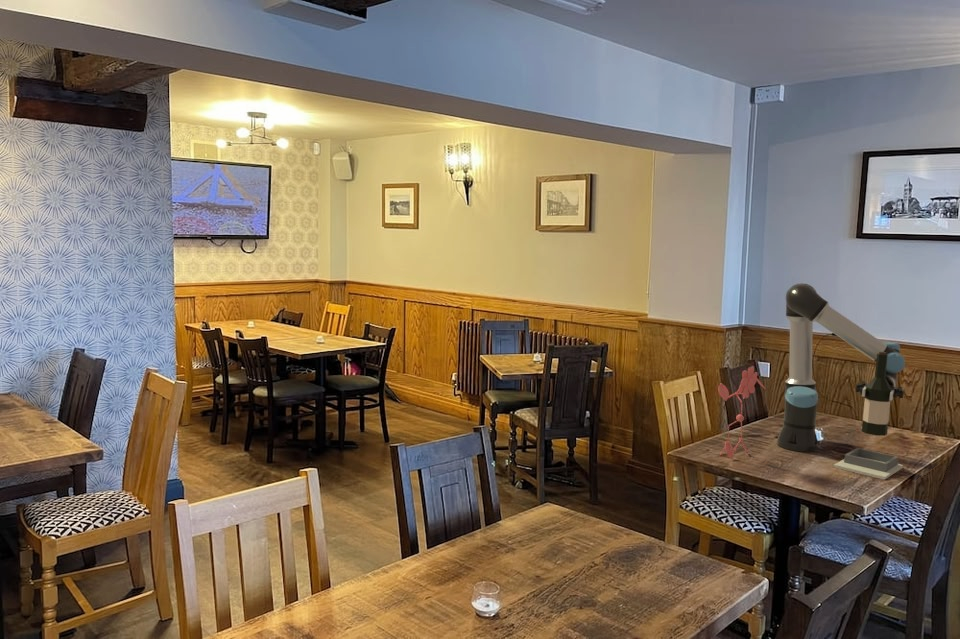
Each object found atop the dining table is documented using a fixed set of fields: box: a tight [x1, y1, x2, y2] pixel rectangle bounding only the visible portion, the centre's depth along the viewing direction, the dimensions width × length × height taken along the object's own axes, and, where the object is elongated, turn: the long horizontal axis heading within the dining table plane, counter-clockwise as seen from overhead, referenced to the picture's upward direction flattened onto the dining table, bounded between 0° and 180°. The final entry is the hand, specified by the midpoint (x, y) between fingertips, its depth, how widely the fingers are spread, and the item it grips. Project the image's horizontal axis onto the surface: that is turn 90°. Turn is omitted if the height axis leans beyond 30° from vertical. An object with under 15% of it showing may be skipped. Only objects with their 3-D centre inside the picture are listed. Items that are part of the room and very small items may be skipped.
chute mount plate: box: [833, 447, 904, 481], centre depth 261 cm, size 21×17×4 cm
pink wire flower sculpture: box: [709, 365, 767, 460], centre depth 265 cm, size 15×26×35 cm, turn 130°
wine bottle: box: [861, 352, 892, 437], centre depth 260 cm, size 8×8×30 cm
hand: (877, 394), depth 256 cm, fingers closed on wine bottle, 8 cm apart
